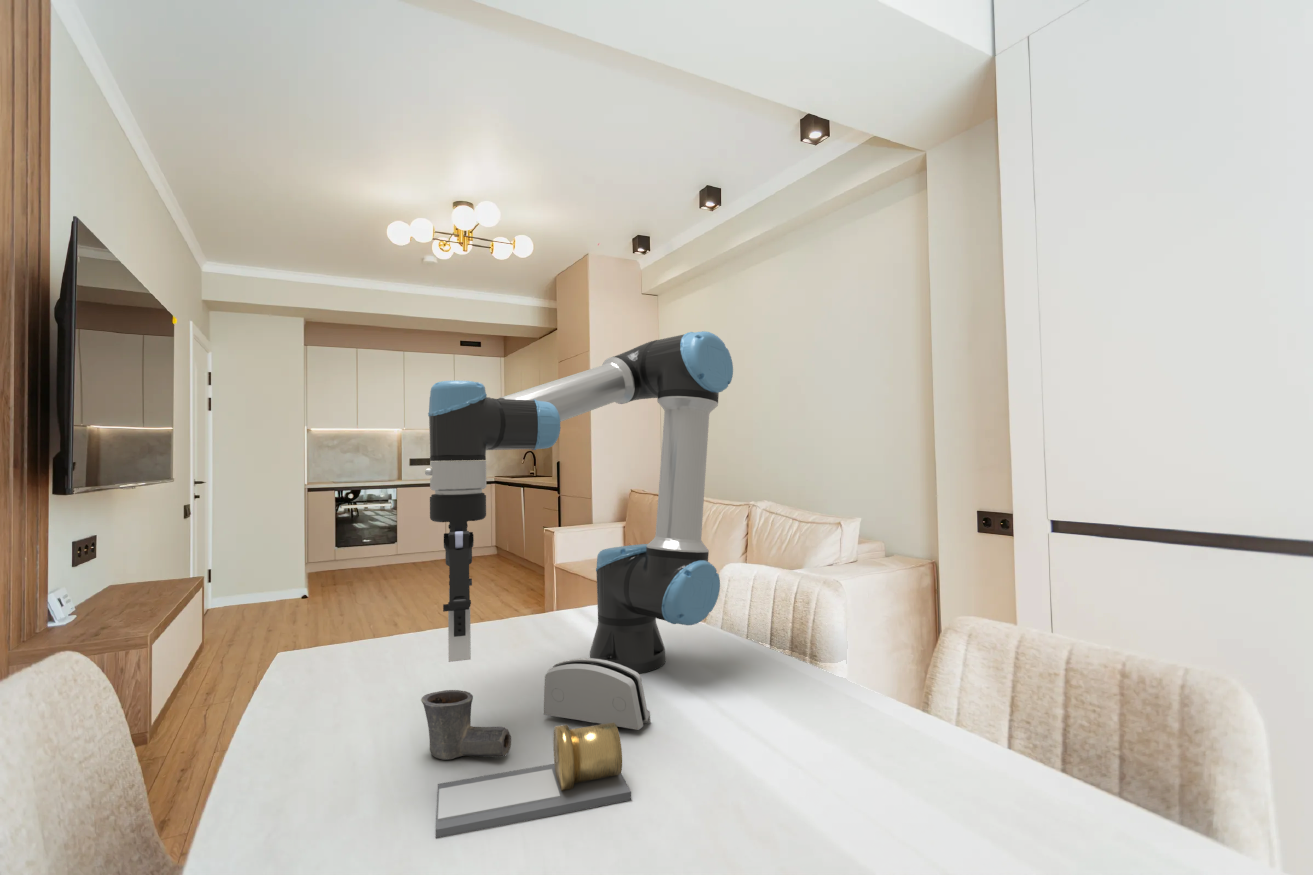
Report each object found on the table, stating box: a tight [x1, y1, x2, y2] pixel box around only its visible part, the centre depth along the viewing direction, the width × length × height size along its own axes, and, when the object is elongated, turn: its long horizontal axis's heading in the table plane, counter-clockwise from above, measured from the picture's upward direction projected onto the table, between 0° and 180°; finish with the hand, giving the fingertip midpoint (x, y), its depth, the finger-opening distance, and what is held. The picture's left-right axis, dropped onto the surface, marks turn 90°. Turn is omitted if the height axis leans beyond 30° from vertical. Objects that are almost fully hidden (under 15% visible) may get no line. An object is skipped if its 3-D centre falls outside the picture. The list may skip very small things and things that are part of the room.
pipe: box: [420, 689, 512, 761], centre depth 87 cm, size 6×13×8 cm, turn 78°
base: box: [435, 763, 632, 839], centre depth 76 cm, size 22×10×1 cm, turn 108°
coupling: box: [552, 723, 623, 791], centre depth 78 cm, size 7×7×7 cm
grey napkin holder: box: [543, 657, 652, 731], centre depth 96 cm, size 17×5×10 cm, turn 68°
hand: (459, 645), depth 87 cm, fingers open, 13 cm apart
